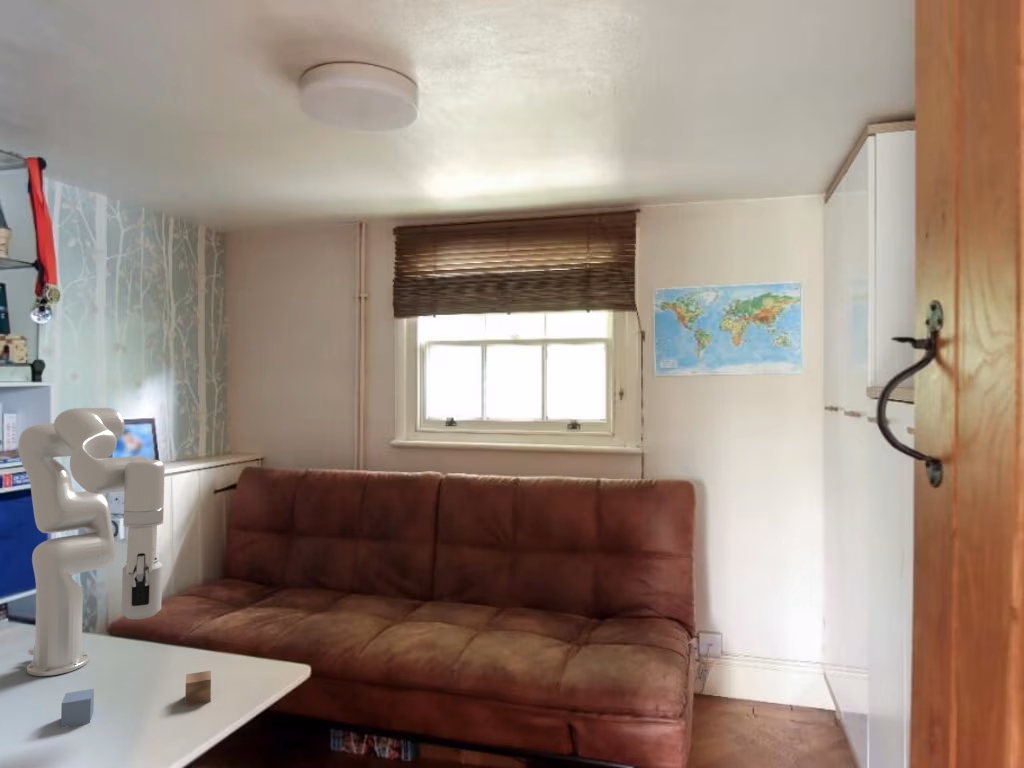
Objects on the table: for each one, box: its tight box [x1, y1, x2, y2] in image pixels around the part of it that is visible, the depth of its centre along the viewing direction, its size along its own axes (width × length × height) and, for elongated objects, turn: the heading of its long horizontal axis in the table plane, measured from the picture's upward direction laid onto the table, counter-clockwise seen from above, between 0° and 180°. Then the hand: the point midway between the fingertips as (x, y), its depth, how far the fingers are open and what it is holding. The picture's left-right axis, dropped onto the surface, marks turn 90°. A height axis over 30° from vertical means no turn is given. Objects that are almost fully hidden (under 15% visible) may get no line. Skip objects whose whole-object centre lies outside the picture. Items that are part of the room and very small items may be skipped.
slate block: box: [60, 688, 95, 728], centre depth 137 cm, size 5×5×5 cm
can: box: [121, 556, 163, 620], centre depth 142 cm, size 8×8×12 cm
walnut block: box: [184, 670, 212, 707], centre depth 147 cm, size 5×5×5 cm
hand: (141, 598), depth 142 cm, fingers closed on can, 7 cm apart
